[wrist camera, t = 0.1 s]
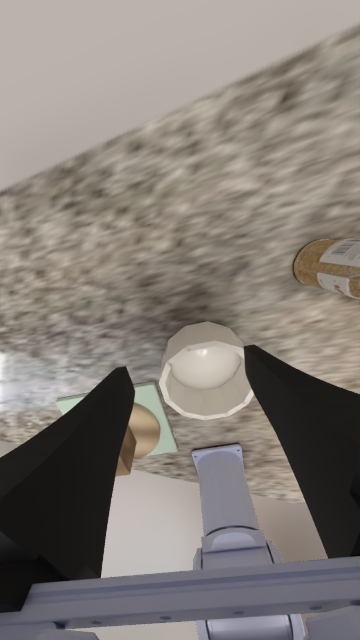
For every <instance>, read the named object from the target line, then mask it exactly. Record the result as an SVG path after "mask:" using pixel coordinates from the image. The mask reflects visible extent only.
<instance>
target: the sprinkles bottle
mask: <svg viewBox="0 0 360 640" xmlns="http://www.w3.org/2000/svg"><path fill="white" fill-rule="evenodd" d="M294 273H295V275H296V278H297V279H298V280H299V281H300V282H301V283H303V284H305V285H307V286H316V287H319V288H323V289H326V290H328V291H331V292H334V293H338V294H342V295H345V296H349V297H353V298H356V299H359V300H360V238H348V239H343V240H331V239H319V240H315V241H313V242H311V243H309V244H308V245H306V246H305V247H304V248H303V249H302V250H301V251H300V253H299V254H298V256H297V258H296V260H295V263H294Z"/></svg>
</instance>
